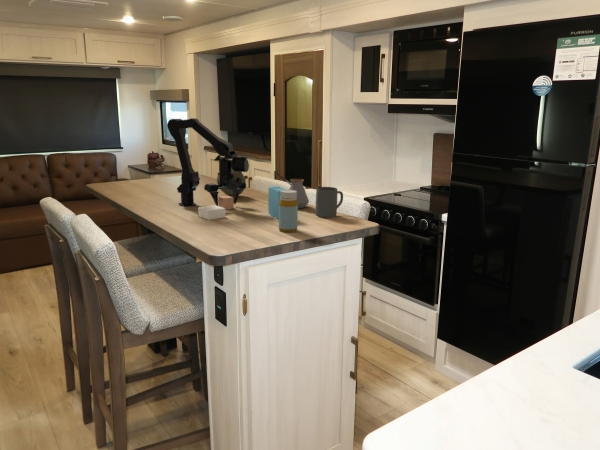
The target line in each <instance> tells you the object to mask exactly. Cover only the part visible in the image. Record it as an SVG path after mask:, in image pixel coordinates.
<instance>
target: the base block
mask: <svg viewBox="0 0 600 450" xmlns="http://www.w3.org/2000/svg"><path fill="white" fill-rule="evenodd" d="M198 217H200V218H202V219H205V220H208V221H209V220H215V219H222V218H226V209H225V208H222V207H219V205H218V206H216V204H215V205H213V204H212V205H207V206H201V207H200V206H199V207H198Z"/></svg>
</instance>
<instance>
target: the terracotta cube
mask: <svg viewBox="0 0 600 450" xmlns="http://www.w3.org/2000/svg"><path fill="white" fill-rule="evenodd" d="M234 205H235V204H234V202H233V197H232V196H228V195H225V196H224V195H221V196H218V206H219V207H222V208H225V210H228V209H234V208H235V207H234Z"/></svg>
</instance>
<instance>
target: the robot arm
mask: <svg viewBox="0 0 600 450" xmlns="http://www.w3.org/2000/svg"><path fill="white" fill-rule="evenodd" d="M166 126H167V130H168V131H169V132H168V133H169V134H170V136H171V137H172V138H173V140H174V143H175V146H176V152H177V156H178V159H179V163H180V166H181V167H180V168H181V175H180V176H181V177H180V178H181V183H180V184H179V186H178V187H177V188H176V189H177V193H178V194H180V202H178V203H177V204H178V205H180V206H182V207H187V206H188V207H190V206H197V205H198V203H196V202H195V201H194V191H196V190H197V188H198V186H199V185H200V180H201V178H200V176H199V175H200V174H199V171H195V170H194V169H193V165H192V161H191V157H190V152H189V149H188V145H187V140H186V133H187V129H190V128H191V129H193V130H194V131H195V132H196V133H197V134H199V136H200V137H202V138H204V140H206V142H208V143H209V144H210V145H211V146H212V148H213V150H214V151H215V152H216V153H217V154H218V155H217V156H216V157H215V158H214V159H213V160H214V161H217V162H218V172H217V176H218V175H219V182H218V184H219V185H218V184H216V183H205V184H204V187H203V188H204V191H207V193H209V195H210V196H211V198H212V200H213V202H214V204H215V205H216V206H219V204H218V197H219V193H220V192H219V191H218V190H220V189H223V188H228V189H230V190H233V202H234V205H236V204H237V201H238V198H239V196H240V195H241V194H240V192H241V191H243V190H244V191H245V189H247V184H246V181H245V182H242V178H234V175H233V173H232V170H234V171H236V172H242V173H248V171H249V167H250V163H249V160H248V157H247V156H238V154H237V152H236V151H235V150H234V146H233V144H232V143H231V142H229V141H227V140H225V139H224V138H220V137H219V136H217V135H216V134H215V133H214V132H213V131H211V130H210V129H209V128H208V127H206V126H205V125H204V124H203V123H202V122H201V121H200V120H199V119H198V118H189V119H182V118H171V119H169V120H168V121H167V124H166ZM222 186H224V187H222ZM244 191H243V192H244Z"/></svg>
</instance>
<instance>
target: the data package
mask: <svg viewBox="0 0 600 450" xmlns="http://www.w3.org/2000/svg"><path fill="white" fill-rule="evenodd" d="M281 190H287V189H286V188H284V187H280V186H269V187H268V195H267V196H268V199H267V200H268V202H267V206H268V207H267V212H268V214H269V215H270V216H272V217H274V218H275V219H277V220H279V202H280V191H281Z"/></svg>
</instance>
